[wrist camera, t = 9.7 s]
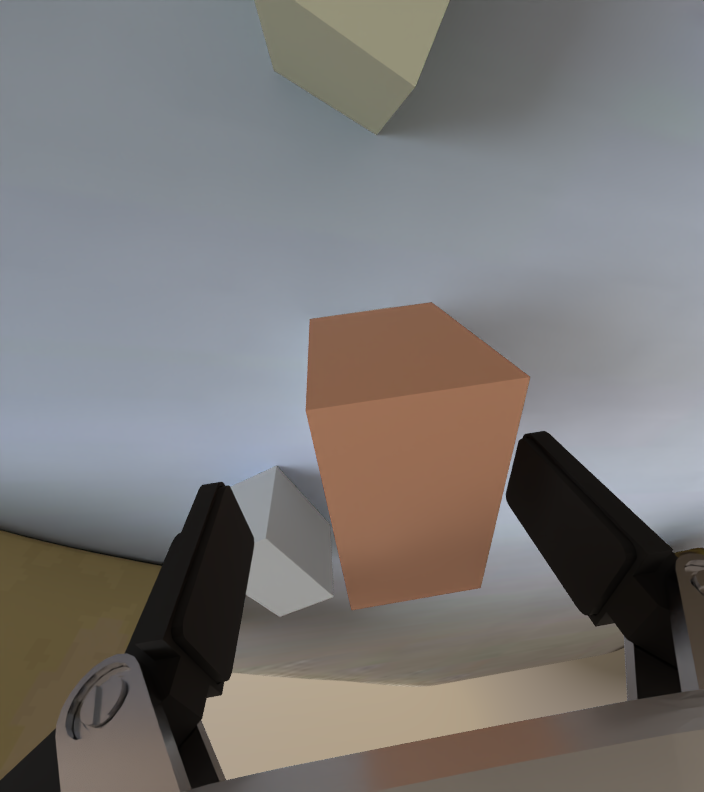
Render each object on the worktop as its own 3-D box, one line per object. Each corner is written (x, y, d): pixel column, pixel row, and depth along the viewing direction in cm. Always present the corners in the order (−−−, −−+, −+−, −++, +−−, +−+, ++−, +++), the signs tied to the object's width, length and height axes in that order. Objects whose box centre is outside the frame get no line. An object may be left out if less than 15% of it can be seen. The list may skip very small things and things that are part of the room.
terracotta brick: (309, 319, 9) (305, 410, 5) (431, 302, 9) (530, 376, 5) (339, 479, 13) (351, 610, 9) (426, 465, 13) (480, 588, 9)
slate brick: (226, 487, 19) (201, 565, 15) (276, 464, 19) (265, 538, 14) (286, 541, 23) (279, 617, 19) (330, 523, 22) (333, 596, 18)
